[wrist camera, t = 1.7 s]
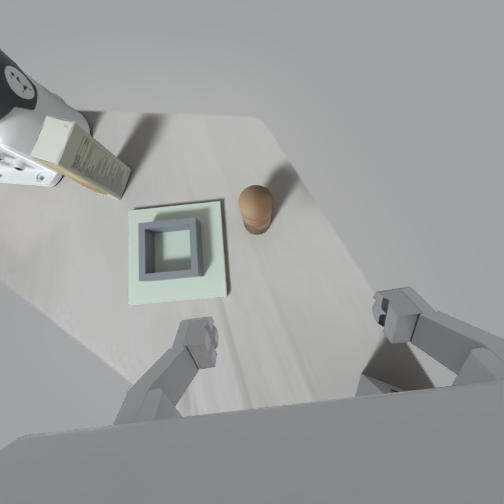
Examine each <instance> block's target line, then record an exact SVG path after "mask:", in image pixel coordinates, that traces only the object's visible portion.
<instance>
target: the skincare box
mask: <svg viewBox="0 0 504 504" xmlns="http://www.w3.org/2000/svg"><path fill="white" fill-rule="evenodd" d="M29 157H30V158H32V159H34V160H36V161H38V162H40V163H42V164H44V165H46V166H47V167H49V168H51V169H53V170H55V171H57V172H59V173H61V174H62V175H64V176H66V177H68V178H70V179H72V180H74V181H76V182H77V183H79V184H81V185H83V186H85V187H87V188H89V189H91V190H93V191H94V192H96V193H98V194H100V195H103V196H107V197H110V198H114V199H117V200H120V199H121V197H122V194H123V192H124V189H125V186H126V184H127V181H128V178H129V175H130V172H131V169H130V168H129V167H128V166H126V165H125V164H124V163H123V162H122V161H120V160H119V159H118V158H117V157H116V156H114V155H113V154H112V153H111V152H110V151H108V150H107V149H106V148H105V147H104V146H103V145H101V144H100V143H99V142H98V141H97V140H95V139H94V138H93V137H92V136H91V135H89V134H88V133H87V132H86V131H85V130H83V129H82V128H81V127H80V126H79V125H78V124H76V123H75V122H73V121H69V120H65V119H61V118H57V117H52V116H46V118H45V120H44V122H43V124H42V127H41V129H40V131H39V133H38V136H37V138H36V140H35V143H34V145H33V148H32V150H31V153H30V155H29Z"/></svg>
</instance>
